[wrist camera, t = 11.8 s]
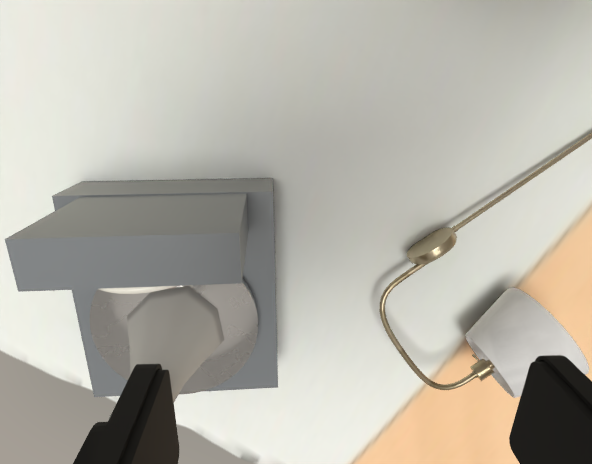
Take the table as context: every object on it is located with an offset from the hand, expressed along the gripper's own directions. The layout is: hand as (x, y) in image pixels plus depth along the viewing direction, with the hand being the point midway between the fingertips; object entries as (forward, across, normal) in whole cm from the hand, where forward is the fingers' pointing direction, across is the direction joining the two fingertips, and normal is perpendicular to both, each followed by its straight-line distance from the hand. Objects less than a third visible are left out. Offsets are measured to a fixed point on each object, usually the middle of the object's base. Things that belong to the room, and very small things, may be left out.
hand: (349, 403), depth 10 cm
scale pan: (+20, +10, +11) cm, 25 cm away
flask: (+19, +10, +11) cm, 24 cm away
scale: (+26, +10, +10) cm, 29 cm away
